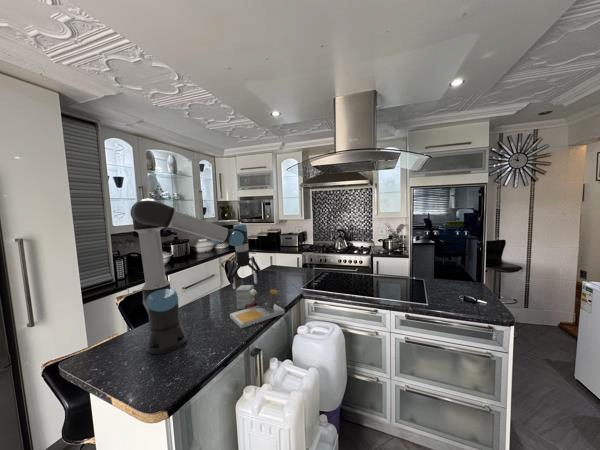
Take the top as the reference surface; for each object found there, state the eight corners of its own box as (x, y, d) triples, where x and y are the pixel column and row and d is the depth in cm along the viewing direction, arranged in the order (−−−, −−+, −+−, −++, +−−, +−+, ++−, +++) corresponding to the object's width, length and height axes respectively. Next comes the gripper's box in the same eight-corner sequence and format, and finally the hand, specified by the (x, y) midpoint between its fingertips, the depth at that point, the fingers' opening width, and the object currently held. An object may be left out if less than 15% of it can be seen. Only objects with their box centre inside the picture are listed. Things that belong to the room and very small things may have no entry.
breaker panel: (241, 328, 119) (240, 320, 119) (230, 317, 132) (229, 309, 132) (284, 313, 134) (284, 305, 133) (270, 304, 147) (270, 297, 146)
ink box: (255, 303, 151) (253, 284, 150) (251, 309, 142) (249, 289, 141) (241, 303, 151) (240, 284, 151) (236, 309, 143) (235, 289, 142)
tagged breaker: (268, 311, 131) (273, 290, 132) (264, 309, 134) (270, 289, 135) (272, 311, 132) (277, 291, 134) (269, 309, 135) (274, 289, 137)
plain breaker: (262, 307, 138) (252, 293, 135) (259, 305, 142) (249, 291, 138) (265, 304, 140) (255, 290, 136) (262, 302, 143) (252, 288, 139)
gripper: (223, 255, 134) (226, 292, 136) (264, 248, 148) (266, 282, 150) (219, 253, 140) (222, 289, 142) (258, 246, 154) (261, 279, 156)
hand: (245, 285), depth 146 cm, fingers open, 13 cm apart
